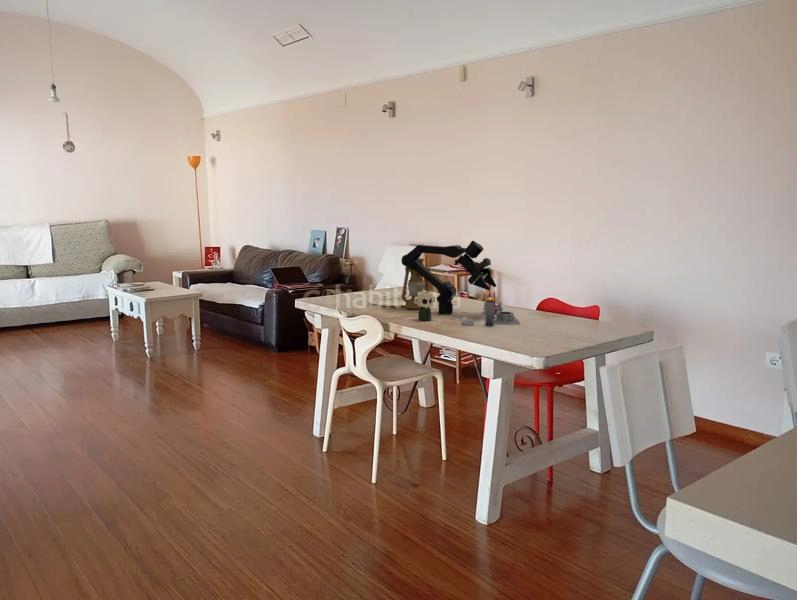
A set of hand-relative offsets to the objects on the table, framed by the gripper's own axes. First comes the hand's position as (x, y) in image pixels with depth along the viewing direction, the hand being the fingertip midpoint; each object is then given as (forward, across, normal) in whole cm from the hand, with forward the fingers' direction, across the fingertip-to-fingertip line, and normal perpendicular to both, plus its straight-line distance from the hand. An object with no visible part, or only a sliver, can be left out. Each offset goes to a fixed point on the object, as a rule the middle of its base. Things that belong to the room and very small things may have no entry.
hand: (492, 288), depth 305 cm
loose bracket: (+5, -20, +14) cm, 25 cm away
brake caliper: (+7, +12, +14) cm, 19 cm away
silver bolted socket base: (+16, -7, +5) cm, 18 cm away
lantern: (-23, +4, +39) cm, 46 cm away
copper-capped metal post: (+13, -18, +7) cm, 24 cm away
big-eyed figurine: (-10, -21, +27) cm, 36 cm away
